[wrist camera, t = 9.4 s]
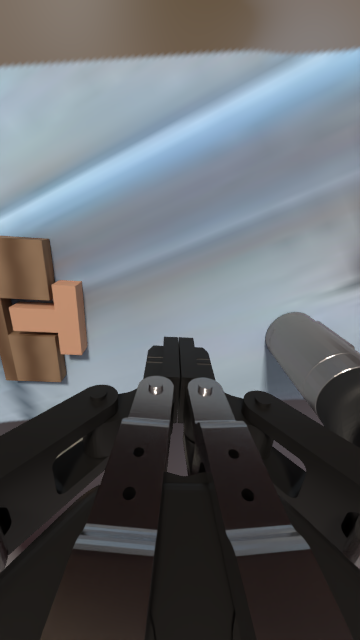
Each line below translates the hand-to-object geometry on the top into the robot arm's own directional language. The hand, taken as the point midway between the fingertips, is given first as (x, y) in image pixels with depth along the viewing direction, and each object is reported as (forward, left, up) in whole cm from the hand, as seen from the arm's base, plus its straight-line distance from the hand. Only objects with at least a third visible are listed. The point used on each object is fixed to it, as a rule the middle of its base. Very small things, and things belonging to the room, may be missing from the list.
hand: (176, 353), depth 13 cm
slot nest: (+24, +10, -29) cm, 39 cm away
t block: (+20, +10, -29) cm, 37 cm away
